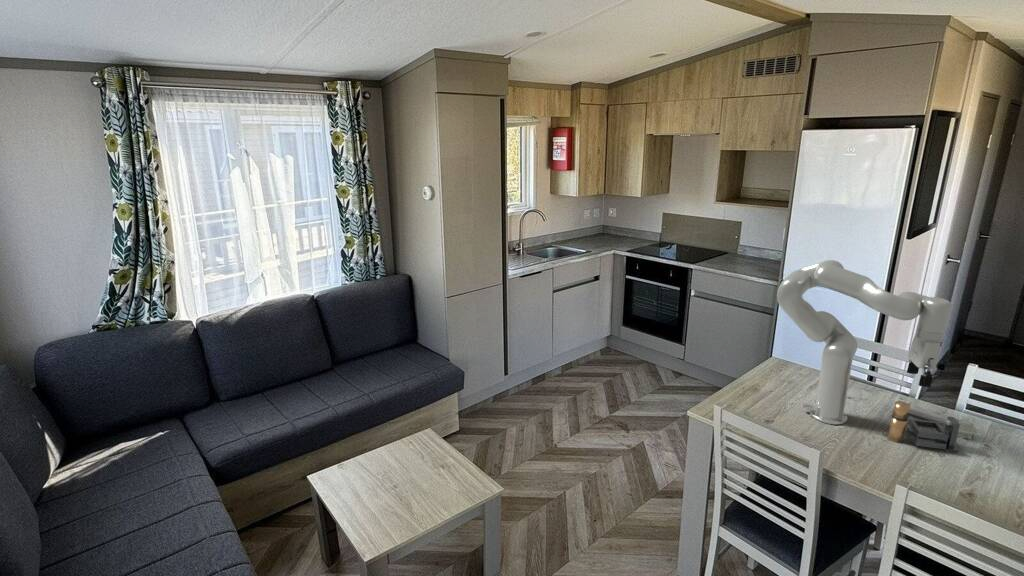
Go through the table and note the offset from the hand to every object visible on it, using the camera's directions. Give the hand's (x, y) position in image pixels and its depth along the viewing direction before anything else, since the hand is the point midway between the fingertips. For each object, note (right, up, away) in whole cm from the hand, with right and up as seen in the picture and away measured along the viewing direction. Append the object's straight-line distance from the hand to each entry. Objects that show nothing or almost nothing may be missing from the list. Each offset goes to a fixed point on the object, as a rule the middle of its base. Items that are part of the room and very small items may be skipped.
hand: (917, 379), depth 186 cm
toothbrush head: (+17, -20, +15) cm, 30 cm away
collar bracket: (+7, -23, +3) cm, 24 cm away
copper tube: (-3, -22, +6) cm, 23 cm away
